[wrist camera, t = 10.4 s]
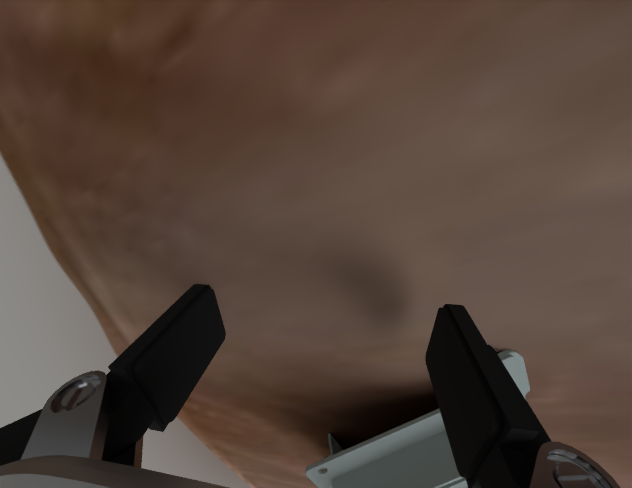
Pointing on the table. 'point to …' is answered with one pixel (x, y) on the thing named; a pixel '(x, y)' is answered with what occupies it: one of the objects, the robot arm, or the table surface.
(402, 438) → the metal bracket
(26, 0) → the table surface
